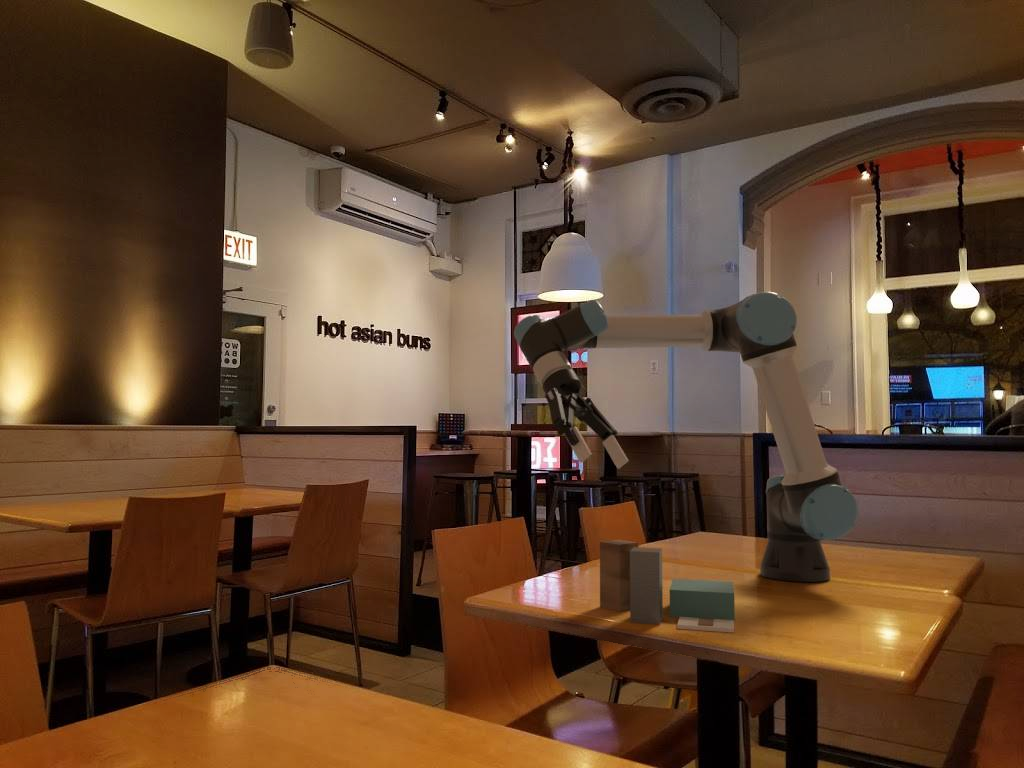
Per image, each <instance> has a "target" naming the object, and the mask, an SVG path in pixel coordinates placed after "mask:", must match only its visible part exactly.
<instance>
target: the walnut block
mask: <svg viewBox="0 0 1024 768" xmlns="http://www.w3.org/2000/svg"><path fill="white" fill-rule="evenodd" d="M633 547H639V542H637V541H630V540H624V539H612V540H603V541H602V540H601V541H599V607H600V608H604V609H607V610H612V611H616V612H626V611H630V551H631V549H632V548H633Z"/></svg>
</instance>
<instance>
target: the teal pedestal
mask: <svg viewBox="0 0 1024 768" xmlns="http://www.w3.org/2000/svg"><path fill="white" fill-rule="evenodd" d="M734 587H735V586H734V581H727V580H705V579H688V578H685V579H684V578H672V580H671V584H670V587H669V617H670V618H680V617H691V618H707V619H720V620H734V622H735V621H736V618H735V617H736V614H735V611H736V610H735V607H736V605H735V590H734V589H735V588H734Z"/></svg>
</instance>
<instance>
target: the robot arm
mask: <svg viewBox="0 0 1024 768" xmlns="http://www.w3.org/2000/svg"><path fill="white" fill-rule="evenodd" d="M796 328H797V314H796V310H795V308H794V307H793V304H792V303H791V302H790V301H789V300H788V299H787V298H786V297H784V296H783V295H780V294H779V293H776V292H773V291H760V292H757V293H753V294H751V295H747V296H745V297H744V298H743V299H742V300H740V301H738V302H737V303H735V304H732V305H730V306H726V307H722V308H716V309H705V310H703V311H702V312H701V313H700V314H698V313H697V314H657V315H656V314H655V315H654V314H653V315H652V314H650V315H649V314H648V315H647V314H644V315H643V314H642V315H638V314H637V315H606V312H605V310H604V308H603V307H602V305H601V304H600V302H599V301H597V300H596V299H591V300H587V301H585V302H581V303H580V304H579V305H577V306H575V307H573V308H570V309H569V310H566V311H565V312H562V313H560V314H559V315H556V316H554V317H552V318H549V319H547V320H546V319H544V318H543V317H542V316H541V315H539V314H534V315H528V316H526V317H524V318H522V319H521V320H520V321H519V322H518V323H517V324H516V325H515V327H514V330H513V334H514V335H513V336H514V338H515V340H516V342H517V345H518V347H519V348H520V351H521V353H522V354H523V356H524V358H525V360H526V362H527V363H528V364H529V366H530V368H531V370H532V372H533V373H534V375H535V377H536V381H537V382H538V383H539V384H540V386H541V387H542V390H543V392H544V394H545V395H544V397H545V399H546V401H547V403H548V407H549V412H550V417H551V423H552V424H551V425H552V427H553V429H555V430H556V432H557V433H556V434H557V435H558V436H560V437H561V436H563V435H564V436H565V438H566V440H567V442H568V444H569V445H570V447H571V450H572V451H573V453H574V454H575V456H576V458H577V460H578V461H579V463H581V464H582V463H584V462H585V461H586V460H587V459H589V458H590V457H591V456H592V455H593V453H592V452H591V450H590V448H589V446H588V444H587V442H586V441H585V439H584V437H583V436H582V434H581V432H580V430H579V429H578V427H577V426H575V425H574V417H576V418H577V419H578V421H580V422H583V423H585V424H586V426H588V427H589V428H590V429H591V430H592V431H593V432H594V433H595V434H596V435H597V436H598V437H599V438H600V440H602V445H603V446H604V448H605V450H606V452H607V454H608V455H609V457H610V459H611V461H612V462H613V464H614V465H615V466H616V469H618V470H619V469H621V468H622V467H623V466H624V465H625V464H627V463H628V462H629V459H628V457H627V455H626V453H625V452H624V450H623V449H622V447H621V445H620V444H619V441H618V440H617V439H616V436H617V435H618V431H617V430H616V428H615V427H614V426H613V425H612V424H611V422H609V420H608V419H607V418H606V417H605V416H604V415H603V413H602V412H601V411H600V410H599V409H598V408H597V406H596V405H595V403H594V402H593V400H591V399H592V398H590V397H587V398H586V399H585V398H584V397H583V396H582V395H581V394H580V391H581V387H582V382H581V380H580V379H579V376H578V375H577V374H576V372H575V371H574V370H573V367H572V365H571V363H570V361H569V359H568V358H567V356H566V354H565V353H564V352H565V351H572V352H573V351H574V352H576V351H577V350H583V349H586V350H587V349H589V350H590V349H620V348H621V349H624V348H625V349H626V348H628V349H629V348H634V349H636V348H639V349H640V348H641V349H642V348H689V347H690V348H697V347H699V348H701V349H702V350H703V351H705V352H711V351H712V352H727V353H728V352H730V353H731V352H733V353H739V354H740V357H741V360H742V362H743V364H745V365H747V366H748V367H750V368H752V371H753V374H754V377H755V379H756V384H757V386H758V390H759V393H760V395H761V399H762V402H763V406H764V408H765V411H766V414H767V415H766V416H767V418H768V421H769V425H770V427H771V430H772V434H773V436H774V441H775V442H776V446H777V450H778V452H779V455H780V459H781V463H782V465H783V469H784V471H785V474H784V475H783V474H782V475H773V476H770V477H769V478H768V479H767V481H766V489H765V494H766V498H765V499H766V528H767V531H766V533H767V542H766V545H765V548H764V552H763V555H762V558H761V561H760V566H759V567H760V568H759V571H760V572H759V574H760V576H762V577H765V578H768V579H772V580H779V581H787V582H798V583H799V582H800V583H802V582H803V583H814V582H815V583H817V582H818V583H819V582H825V581H829V580H831V568H830V566H829V563H828V560H827V557H826V554H825V551H824V548H823V546H822V540H823V541H824V540H825V541H833V540H837V539H840V538H843V537H844V536H846V535H847V534H849V533H850V531H851V530H852V529H853V527H855V526H854V525H855V524H856V522H857V519H858V518H859V517H858V515H859V506H858V502H857V499H856V498H855V496H854V493H852V492H851V491H850V490H849V489H847V488H846V487H845V486H843V484H842V482H841V477H840V475H839V472H838V469H837V468H835V467H834V466H832V465H830V464H829V463H828V462H827V460H826V457H825V454H824V451H823V447H822V445H821V442H820V438H819V435H818V431H817V429H816V426H815V422H814V419H813V416H812V412H811V410H810V407H809V404H808V401H807V397H806V395H805V391H804V387H803V385H802V381H801V378H800V377H799V373H798V370H797V366H796V363H795V361H794V354H795V352H796V350H797V348H798V345H797V340H796V338H795V335H794V332H795V330H796Z"/></svg>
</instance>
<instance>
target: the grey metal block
mask: <svg viewBox="0 0 1024 768" xmlns="http://www.w3.org/2000/svg"><path fill="white" fill-rule="evenodd" d="M663 602H664V601H663V549H662V548H659V547H640V546H638V547H633V548H632V549H631V551H630V610H629V611H630V612H629V613H630V614H629V615H630V616H629V618H630V619H629V621H630V623H633V624H648V625H661V623H662V620H663V616H664V613H663V611H664V610H663V606H664V605H663V604H664V603H663Z"/></svg>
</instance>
